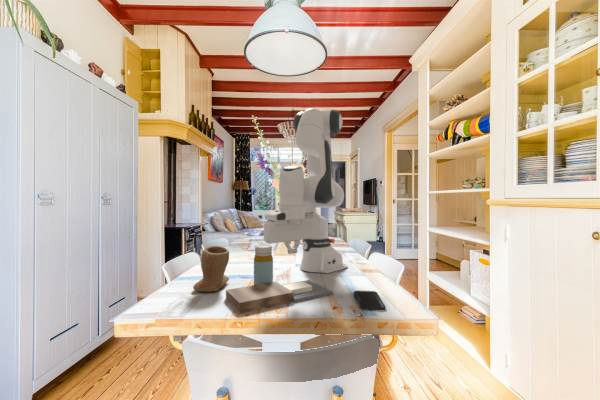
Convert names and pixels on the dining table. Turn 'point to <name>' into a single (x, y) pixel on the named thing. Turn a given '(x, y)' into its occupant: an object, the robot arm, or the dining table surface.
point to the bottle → (263, 264)
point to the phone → (369, 300)
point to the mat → (312, 292)
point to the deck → (258, 296)
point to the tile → (298, 287)
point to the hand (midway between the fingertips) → (292, 253)
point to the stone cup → (213, 269)
